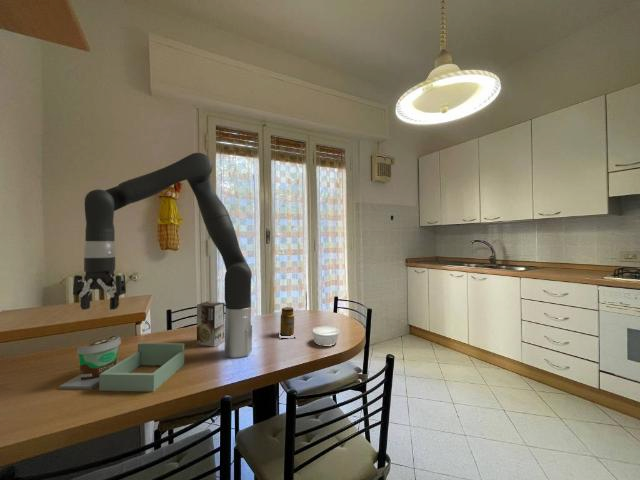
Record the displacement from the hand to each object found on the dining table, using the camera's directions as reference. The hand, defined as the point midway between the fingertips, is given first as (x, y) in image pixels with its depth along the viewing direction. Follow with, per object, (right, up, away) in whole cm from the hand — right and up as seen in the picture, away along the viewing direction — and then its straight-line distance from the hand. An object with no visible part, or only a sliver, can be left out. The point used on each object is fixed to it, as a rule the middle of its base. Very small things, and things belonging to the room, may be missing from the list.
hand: (99, 309), depth 85 cm
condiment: (+53, -22, +38) cm, 69 cm away
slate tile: (0, -20, 0) cm, 20 cm away
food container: (+2, -20, 0) cm, 20 cm away
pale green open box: (+14, -21, 0) cm, 25 cm away
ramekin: (+70, -22, +30) cm, 79 cm away
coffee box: (+23, -21, +28) cm, 42 cm away
